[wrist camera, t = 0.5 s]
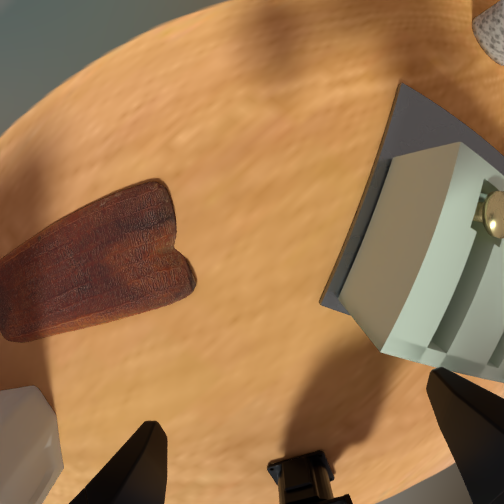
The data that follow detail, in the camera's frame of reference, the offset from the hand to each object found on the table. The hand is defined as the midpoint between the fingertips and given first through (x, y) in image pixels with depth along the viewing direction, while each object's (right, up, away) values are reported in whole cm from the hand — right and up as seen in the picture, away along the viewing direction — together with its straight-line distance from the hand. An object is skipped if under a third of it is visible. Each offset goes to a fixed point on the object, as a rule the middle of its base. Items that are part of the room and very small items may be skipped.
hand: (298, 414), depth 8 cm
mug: (+27, +31, +11) cm, 42 cm away
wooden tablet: (-20, +3, +17) cm, 26 cm away
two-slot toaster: (+14, +5, +15) cm, 21 cm away
